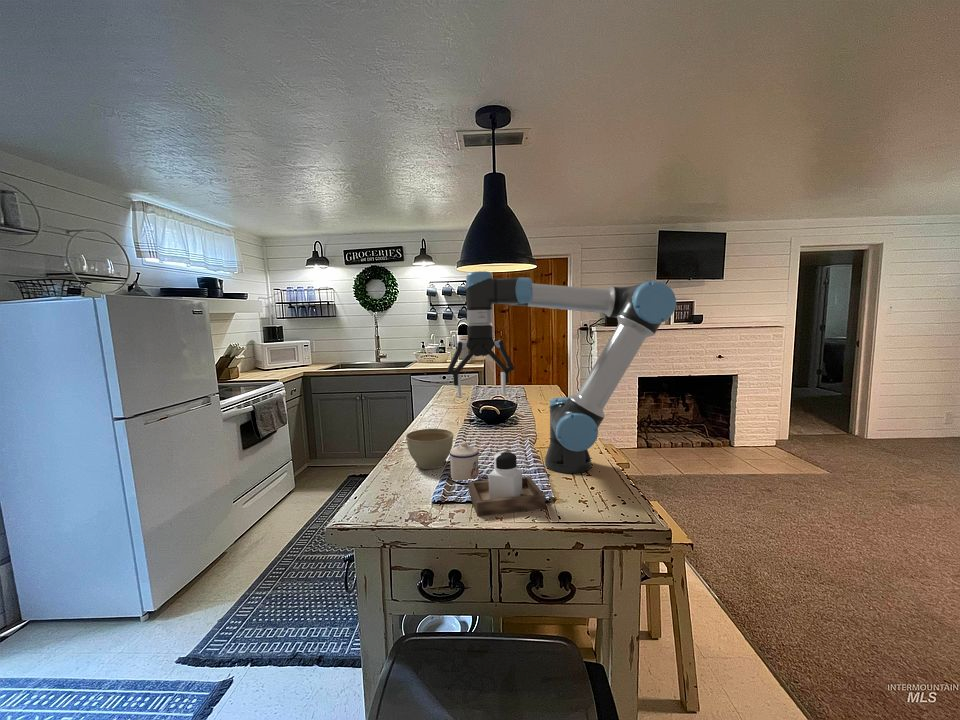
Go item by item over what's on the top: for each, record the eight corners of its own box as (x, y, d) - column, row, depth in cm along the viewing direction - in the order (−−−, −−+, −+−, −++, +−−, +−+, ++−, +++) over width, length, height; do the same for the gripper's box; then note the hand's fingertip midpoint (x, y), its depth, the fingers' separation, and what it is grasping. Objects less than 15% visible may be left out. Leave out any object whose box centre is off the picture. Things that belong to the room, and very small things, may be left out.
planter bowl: (438, 476, 134) (437, 443, 133) (397, 469, 141) (396, 438, 140) (462, 460, 149) (461, 430, 147) (424, 455, 156) (423, 426, 155)
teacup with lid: (477, 485, 126) (476, 447, 125) (447, 484, 128) (446, 446, 126) (482, 470, 138) (481, 436, 137) (455, 470, 139) (454, 435, 138)
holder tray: (529, 487, 123) (529, 476, 123) (545, 508, 109) (545, 495, 109) (468, 493, 120) (468, 482, 120) (477, 516, 106) (477, 502, 106)
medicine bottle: (522, 493, 116) (521, 451, 115) (513, 504, 110) (512, 459, 109) (498, 489, 119) (497, 448, 118) (488, 499, 113) (487, 456, 112)
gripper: (439, 326, 119) (441, 399, 121) (523, 323, 124) (524, 394, 126) (436, 325, 126) (439, 395, 128) (516, 323, 131) (518, 390, 133)
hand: (481, 395), depth 127 cm, fingers open, 13 cm apart
